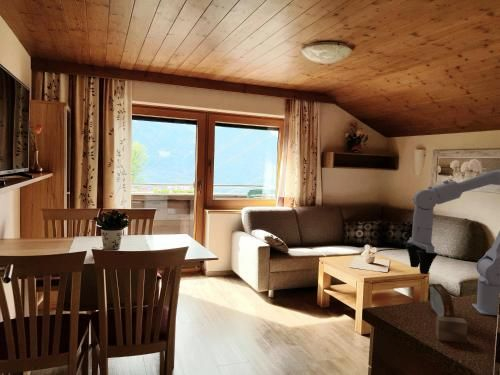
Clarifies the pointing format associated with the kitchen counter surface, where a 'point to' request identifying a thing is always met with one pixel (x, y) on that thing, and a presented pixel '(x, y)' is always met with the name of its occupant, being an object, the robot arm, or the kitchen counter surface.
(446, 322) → the block
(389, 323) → the kitchen counter surface
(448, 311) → the tin
